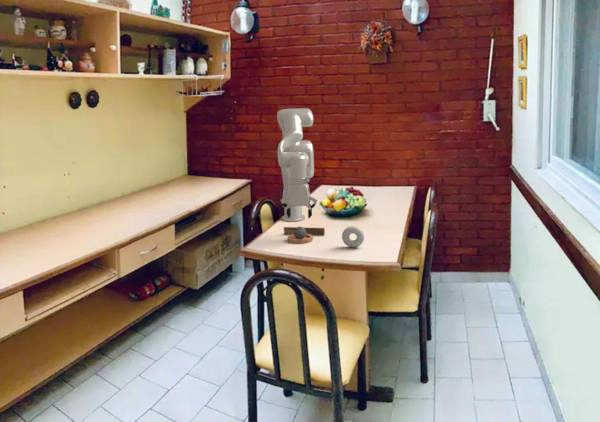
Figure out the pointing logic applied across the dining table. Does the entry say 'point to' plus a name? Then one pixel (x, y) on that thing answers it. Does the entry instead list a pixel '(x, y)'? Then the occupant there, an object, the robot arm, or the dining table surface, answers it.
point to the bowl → (306, 239)
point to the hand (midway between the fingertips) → (299, 217)
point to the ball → (299, 232)
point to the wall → (308, 231)
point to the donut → (354, 230)
